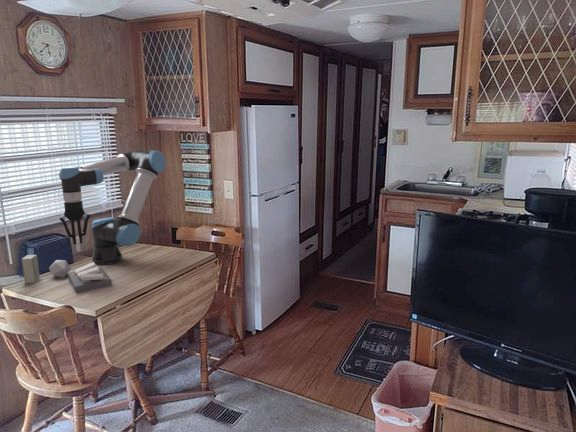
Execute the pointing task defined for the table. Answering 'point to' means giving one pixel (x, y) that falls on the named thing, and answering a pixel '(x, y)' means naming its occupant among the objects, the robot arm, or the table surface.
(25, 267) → the skincare box
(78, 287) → the switch console
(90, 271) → the rocker middle
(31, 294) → the table surface
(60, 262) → the die
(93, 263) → the rocker back
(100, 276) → the rocker front
